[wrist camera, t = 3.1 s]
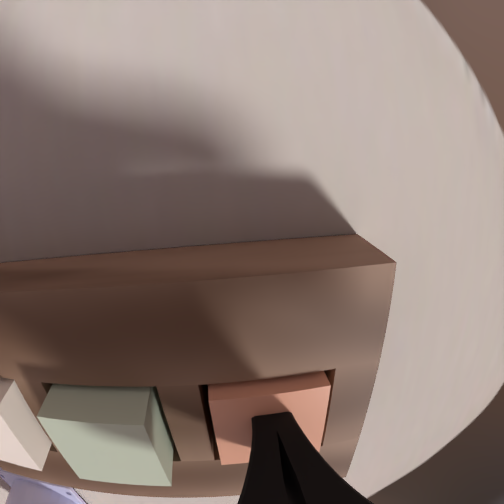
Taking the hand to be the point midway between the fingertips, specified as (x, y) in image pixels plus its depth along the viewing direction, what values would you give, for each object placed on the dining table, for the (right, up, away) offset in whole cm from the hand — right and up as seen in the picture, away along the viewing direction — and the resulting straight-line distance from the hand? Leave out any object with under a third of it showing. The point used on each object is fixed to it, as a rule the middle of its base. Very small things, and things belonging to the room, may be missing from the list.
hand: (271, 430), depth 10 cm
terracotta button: (0, +1, +3) cm, 3 cm away
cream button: (-12, 0, +1) cm, 12 cm away
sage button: (-6, 0, +1) cm, 6 cm away
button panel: (-6, +1, +3) cm, 7 cm away
